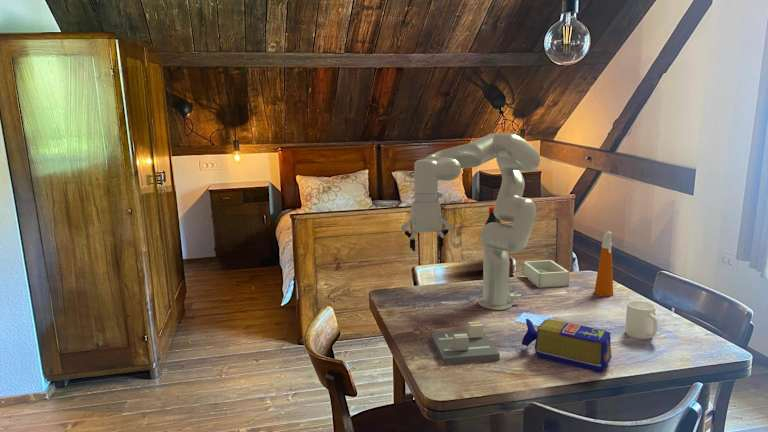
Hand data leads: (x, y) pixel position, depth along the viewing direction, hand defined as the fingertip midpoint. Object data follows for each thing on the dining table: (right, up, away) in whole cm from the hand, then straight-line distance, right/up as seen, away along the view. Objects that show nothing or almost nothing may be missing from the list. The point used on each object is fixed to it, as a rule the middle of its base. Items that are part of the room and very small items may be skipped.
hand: (426, 249), depth 177 cm
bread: (+40, -32, -18) cm, 54 cm away
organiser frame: (+55, -16, +53) cm, 78 cm away
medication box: (+56, -17, +54) cm, 79 cm away
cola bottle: (+35, -14, +67) cm, 77 cm away
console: (+11, -30, -10) cm, 34 cm away
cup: (+69, -28, -4) cm, 75 cm away
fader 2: (+15, -27, -6) cm, 32 cm away
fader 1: (+9, -29, -15) cm, 34 cm away
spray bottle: (+73, -20, +34) cm, 83 cm away
